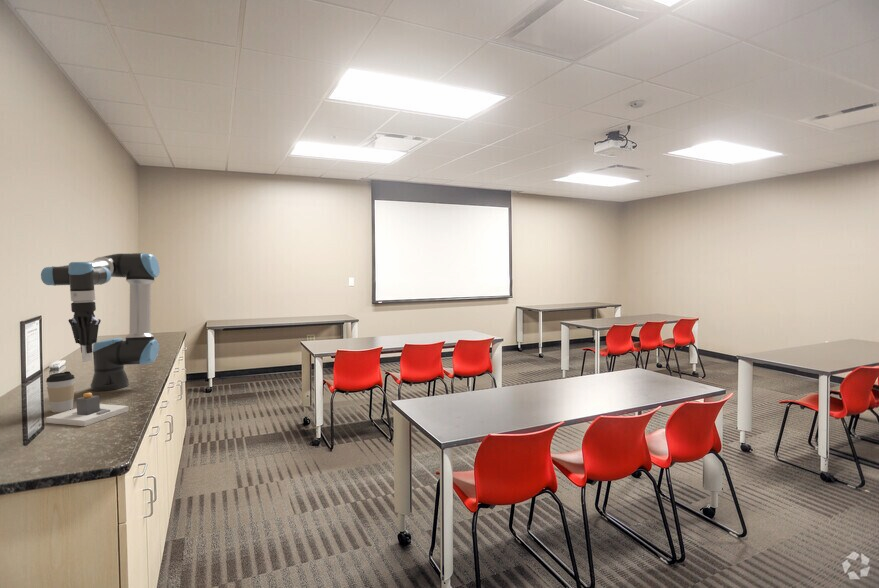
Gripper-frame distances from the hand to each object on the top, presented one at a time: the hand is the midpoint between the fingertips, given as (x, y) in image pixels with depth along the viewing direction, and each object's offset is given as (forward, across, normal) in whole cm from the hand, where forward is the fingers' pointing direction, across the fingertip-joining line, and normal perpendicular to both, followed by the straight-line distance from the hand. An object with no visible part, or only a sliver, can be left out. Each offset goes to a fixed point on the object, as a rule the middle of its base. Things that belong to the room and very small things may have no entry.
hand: (87, 361), depth 181 cm
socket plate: (+21, +4, -4) cm, 21 cm away
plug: (+20, +4, -4) cm, 21 cm away
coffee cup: (+21, -16, +1) cm, 26 cm away
